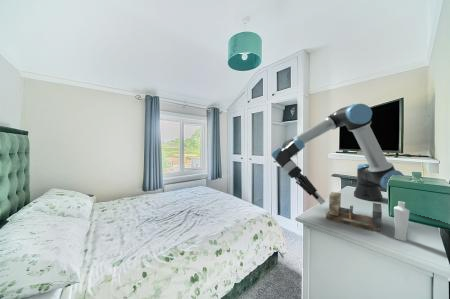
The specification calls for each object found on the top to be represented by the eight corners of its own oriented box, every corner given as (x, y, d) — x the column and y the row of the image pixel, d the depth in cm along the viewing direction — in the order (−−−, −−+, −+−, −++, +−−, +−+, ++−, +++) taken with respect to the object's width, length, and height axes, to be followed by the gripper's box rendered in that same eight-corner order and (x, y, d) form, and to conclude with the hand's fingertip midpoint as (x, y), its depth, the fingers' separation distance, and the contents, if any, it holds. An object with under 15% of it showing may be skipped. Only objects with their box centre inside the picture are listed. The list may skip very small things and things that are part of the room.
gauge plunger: (329, 214, 89) (329, 195, 88) (331, 209, 94) (331, 191, 94) (347, 218, 84) (348, 198, 83) (349, 213, 89) (350, 194, 88)
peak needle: (348, 219, 82) (348, 210, 81) (350, 213, 88) (350, 205, 88) (351, 220, 81) (351, 211, 81) (352, 214, 88) (353, 205, 87)
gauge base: (325, 218, 88) (326, 201, 87) (330, 211, 97) (330, 195, 96) (381, 232, 74) (381, 212, 73) (380, 222, 83) (381, 204, 82)
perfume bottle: (399, 234, 72) (400, 199, 71) (410, 240, 68) (412, 203, 67) (388, 235, 72) (390, 200, 71) (399, 241, 68) (401, 204, 67)
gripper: (291, 171, 110) (320, 203, 100) (283, 175, 100) (314, 210, 90) (300, 164, 106) (331, 196, 96) (292, 167, 97) (326, 202, 87)
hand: (323, 202), depth 93 cm, fingers closed
